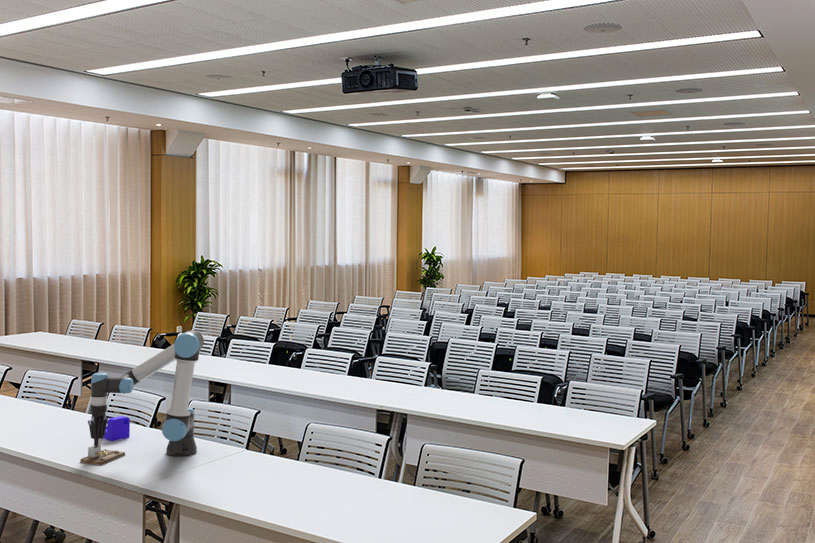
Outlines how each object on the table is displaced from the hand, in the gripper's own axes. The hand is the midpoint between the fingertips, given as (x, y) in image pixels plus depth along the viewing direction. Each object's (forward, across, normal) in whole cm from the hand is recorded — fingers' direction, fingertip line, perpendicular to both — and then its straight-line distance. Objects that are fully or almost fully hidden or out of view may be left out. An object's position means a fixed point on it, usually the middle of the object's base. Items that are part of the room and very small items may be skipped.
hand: (97, 451), depth 357 cm
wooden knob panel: (+4, -1, +2) cm, 5 cm away
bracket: (+4, -37, -21) cm, 43 cm away
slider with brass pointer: (+2, +3, +3) cm, 4 cm away
